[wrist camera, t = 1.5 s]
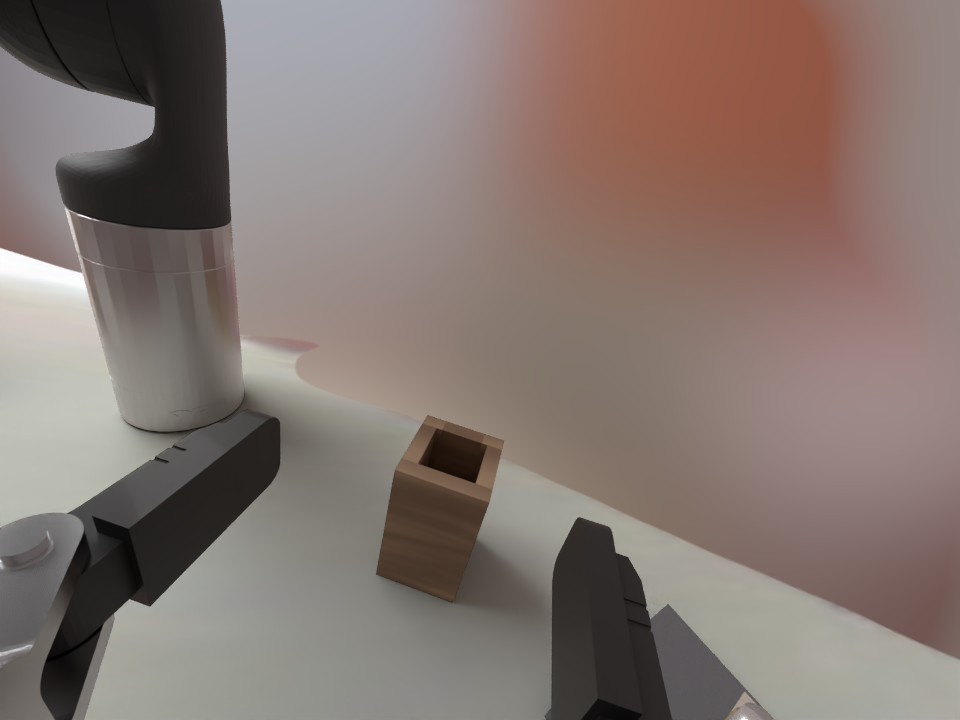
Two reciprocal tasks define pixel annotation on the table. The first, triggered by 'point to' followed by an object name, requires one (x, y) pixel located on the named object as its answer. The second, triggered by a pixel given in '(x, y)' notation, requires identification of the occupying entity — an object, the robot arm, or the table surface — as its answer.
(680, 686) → the base plate
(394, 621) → the table surface
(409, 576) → the sleeve
